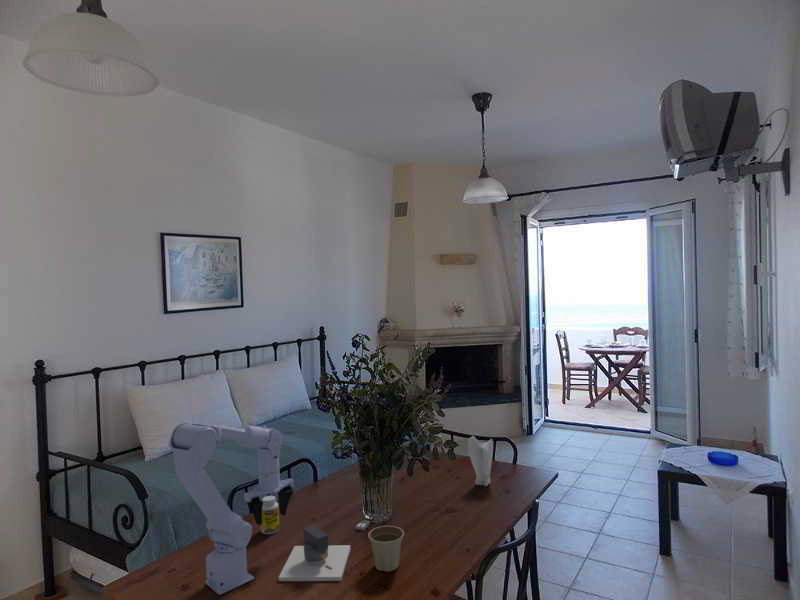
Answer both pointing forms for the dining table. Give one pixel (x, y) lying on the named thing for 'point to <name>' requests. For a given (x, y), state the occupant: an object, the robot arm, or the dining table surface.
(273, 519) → the supplement bottle
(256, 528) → the dining table surface
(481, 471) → the white vase
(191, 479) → the robot arm
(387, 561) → the flower pot
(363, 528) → the key chain
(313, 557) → the dark grey blocky piece
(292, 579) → the post base
